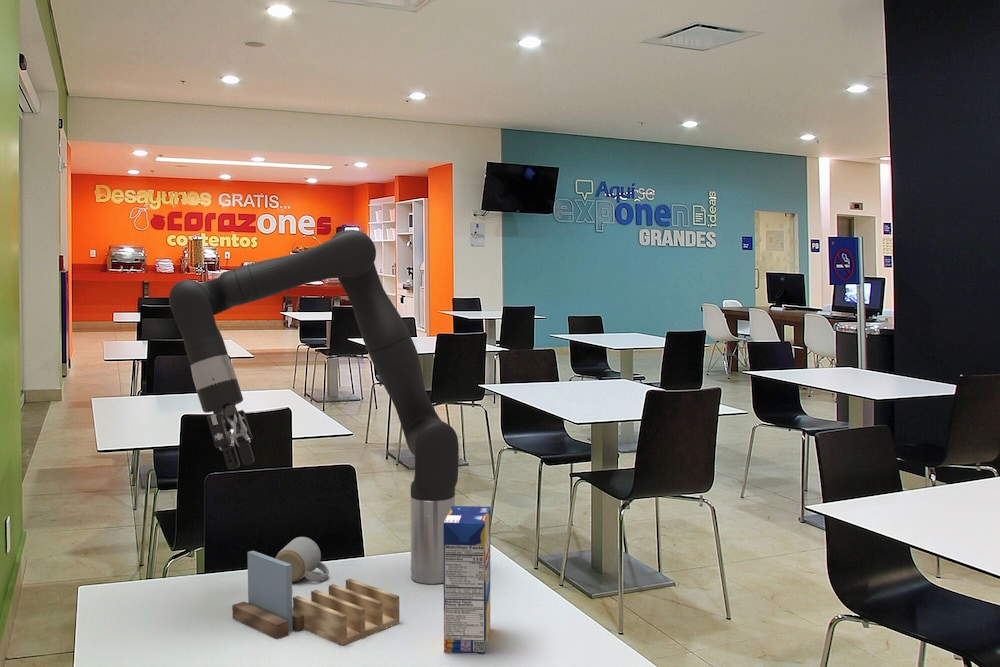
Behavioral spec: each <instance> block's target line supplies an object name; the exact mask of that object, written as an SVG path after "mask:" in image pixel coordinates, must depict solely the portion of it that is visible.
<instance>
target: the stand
mask: <svg viewBox="0 0 1000 667" xmlns="http://www.w3.org/2000/svg"><path fill="white" fill-rule="evenodd" d="M231 606H232V610H231V611H232V619H233V620H235V621H237V622H239V623H242V624H244V625H246V626H248V627H250V628H252V629H254V630H256V631H259V632H260V633H261V632H262V633H263V634H266V635H268V636H269V637H272V638H274V639H276V640H278V639H281V638H284V637H287V636H289V634H290V632H289V621H288V620H286V619H283V618H281V617H279V616H276V615H274V614H272V613H269V612H267V611H265V610H263V609H260V608H258V607H256V606H253V605H251V604H249V603H248V602H246V601H240V602H239V603H233V604H232V605H231ZM292 622H293V631H295V632H300V631H304V630H305V629H304V615H302V614H300V613H297V612H295V611H293V606H292Z"/></svg>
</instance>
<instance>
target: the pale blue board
mask: <svg viewBox="0 0 1000 667" xmlns="http://www.w3.org/2000/svg"><path fill="white" fill-rule="evenodd" d="M275 558H276V557H275ZM275 558H274V557H272V556H269V555H266V554H264V553H261V552H258V551H255V550H250V551H247V595H248V596H247V598H248V599H247V601H248V602H247V603H249V604H251V605H253V606H256V607H258V608H260V609H263V610H265V611H267V612H269V613H272V614H274V615H276V616H279V617H281V618H283V619H286V620H288V621H289V633H291V632H293V631H294V630H293V622H292V607H293V582H292V564H289V563H286V562H283V561H281V560H278V559H275Z"/></svg>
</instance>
